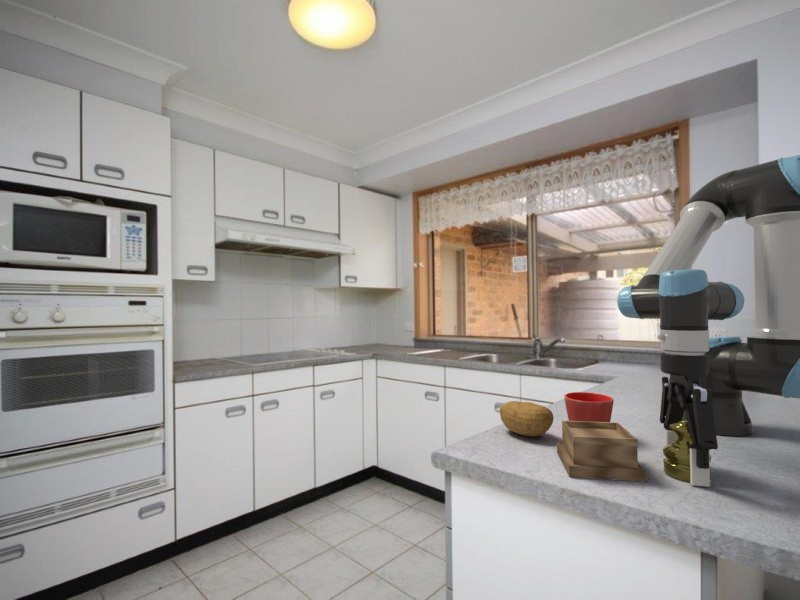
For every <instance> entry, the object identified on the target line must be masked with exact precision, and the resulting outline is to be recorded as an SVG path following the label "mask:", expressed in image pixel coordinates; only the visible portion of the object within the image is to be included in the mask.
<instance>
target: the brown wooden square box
mask: <svg viewBox="0 0 800 600" xmlns="http://www.w3.org/2000/svg"><path fill="white" fill-rule="evenodd" d="M561 429H562V430H561V432H562V433H561V435H562V442H561V443H560V442H557V443H556V453H557V456H558V457H559V459H560V461H561V463H562V465H563V467H564V469H565V471H566V474H567V475H568V477H570V478H585V479H595V478H599V479H600V480H610V479H616V480H615V481H625V480H628V481H627V482H629V481H630V482H641V481H646V482H647V470H646V469H645V468H644V467H643V466H642V465H641V464H640V463H639V459H638V458H639V457H638V452H639V451H638V438H636V437H635V436H634V435H633V434H631V433H630V432H629V430H627V429H626V428H625V427H623V425H621V424H620V423H619V422H614V421H613V422H611V421H610V422H589V421H569V420H564V419H563V420H561ZM599 479H598V480H599Z"/></svg>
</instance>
